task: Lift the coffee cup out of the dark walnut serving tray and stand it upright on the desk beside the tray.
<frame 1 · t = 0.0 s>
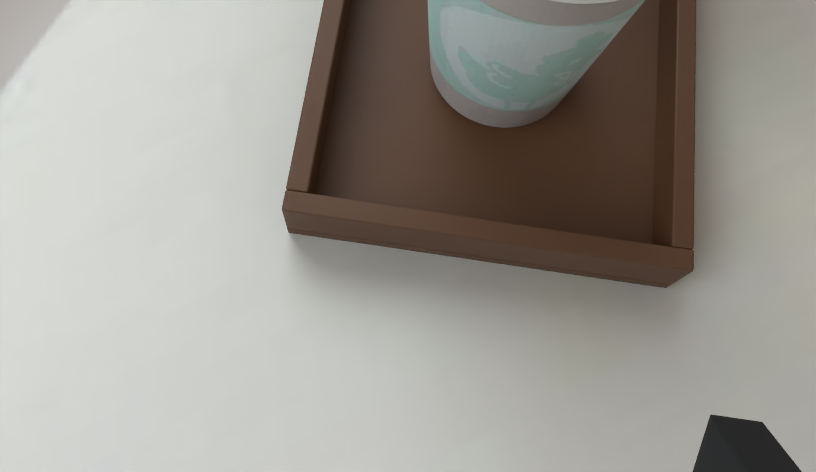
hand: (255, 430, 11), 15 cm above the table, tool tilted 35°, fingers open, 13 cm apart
tray: (498, 71, 30), on the table
coffee cup: (499, 67, 30), resting on tray
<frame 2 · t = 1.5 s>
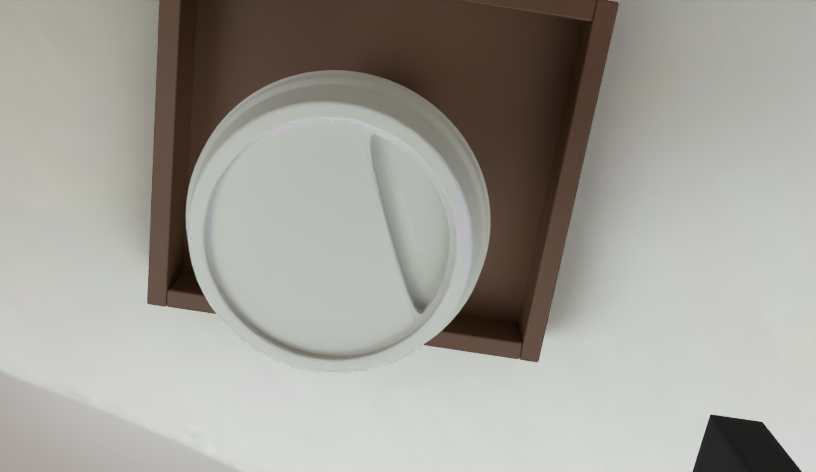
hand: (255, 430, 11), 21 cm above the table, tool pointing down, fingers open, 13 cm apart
tray: (370, 152, 31), on the table
coffee cup: (370, 153, 30), resting on tray
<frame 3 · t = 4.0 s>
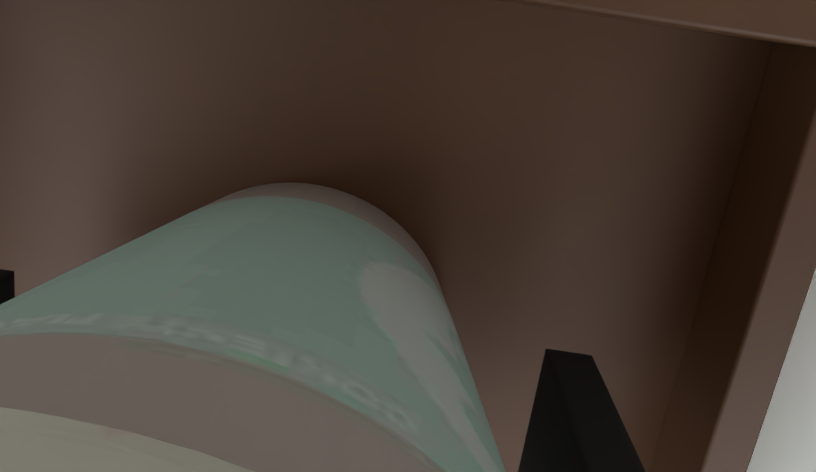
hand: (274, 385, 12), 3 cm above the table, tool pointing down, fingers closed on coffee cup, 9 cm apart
tray: (302, 314, 15), on the table
coffee cup: (300, 320, 14), resting on tray, touching gripper
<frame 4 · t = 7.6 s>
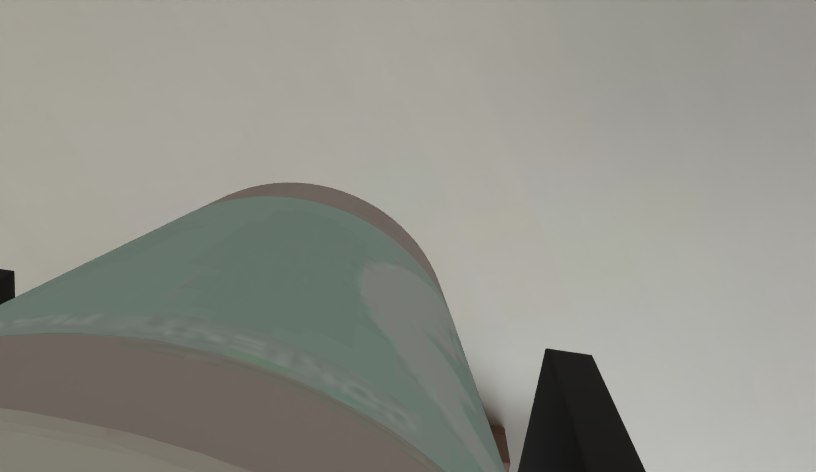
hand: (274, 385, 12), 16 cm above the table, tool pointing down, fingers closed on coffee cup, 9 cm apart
coffee cup: (300, 320, 14), point 14 cm above the table, touching gripper
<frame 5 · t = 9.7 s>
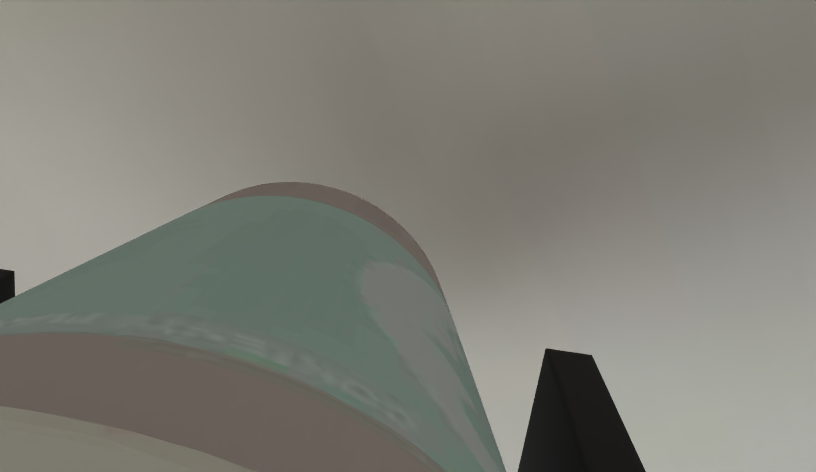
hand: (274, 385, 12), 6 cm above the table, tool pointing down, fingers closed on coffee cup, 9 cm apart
coffee cup: (300, 320, 14), point 4 cm above the table, touching gripper
when the fingers open (2 cm above the table, at t = 11.1 s): coffee cup stays where it is, on the table.
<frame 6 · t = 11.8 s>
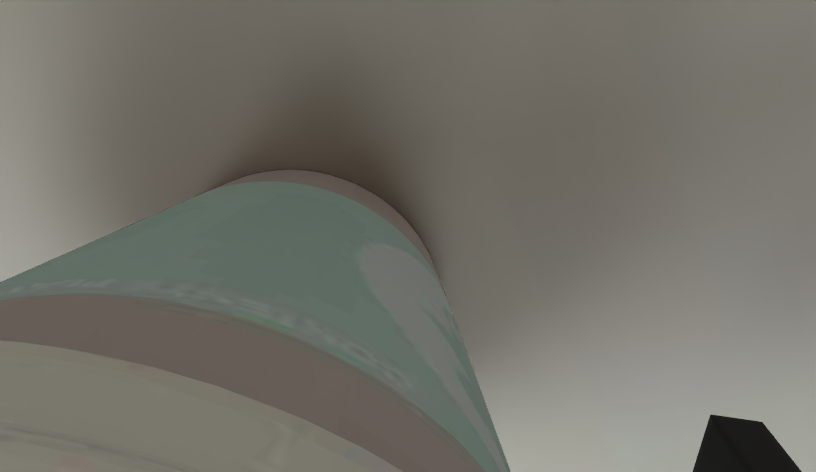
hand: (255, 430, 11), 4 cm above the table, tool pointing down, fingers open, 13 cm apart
coffee cup: (300, 305, 15), on the table
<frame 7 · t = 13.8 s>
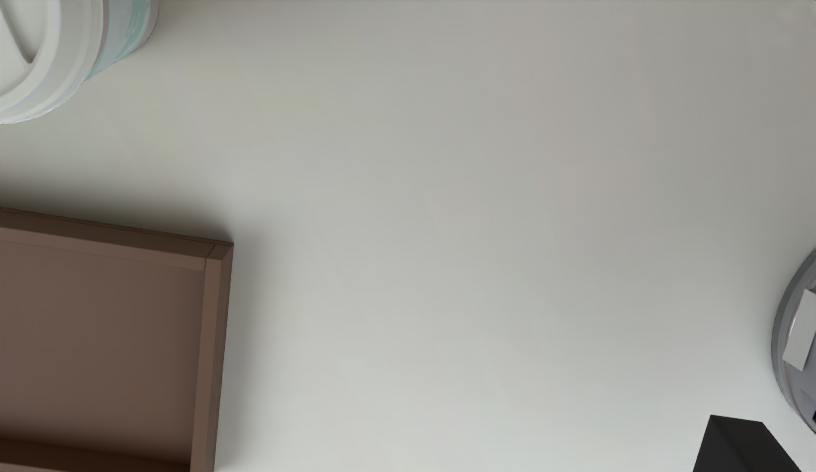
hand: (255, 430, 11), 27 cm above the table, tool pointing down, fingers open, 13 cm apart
tray: (72, 343, 40), on the table
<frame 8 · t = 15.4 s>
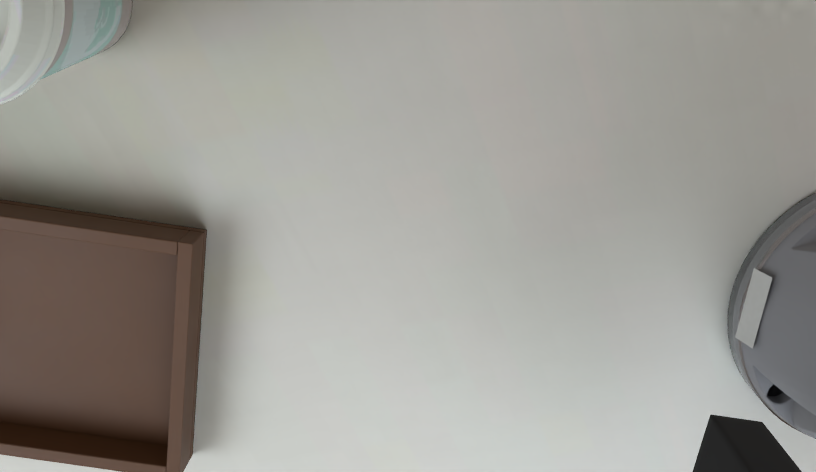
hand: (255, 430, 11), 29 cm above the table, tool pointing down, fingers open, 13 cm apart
tray: (57, 327, 42), on the table
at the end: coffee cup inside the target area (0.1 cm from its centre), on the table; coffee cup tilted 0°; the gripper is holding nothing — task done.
